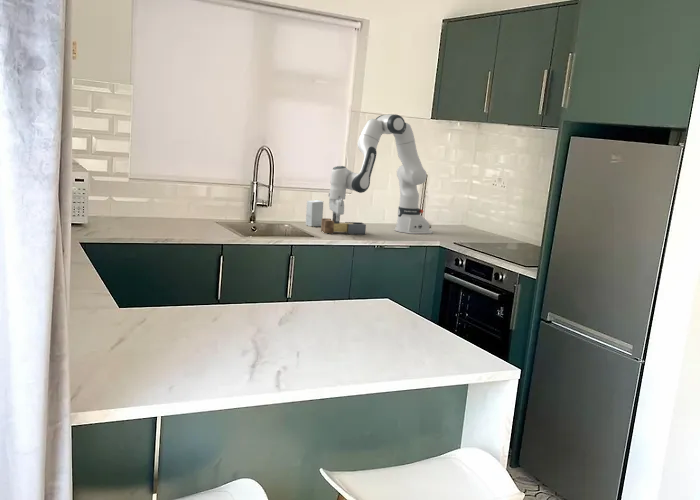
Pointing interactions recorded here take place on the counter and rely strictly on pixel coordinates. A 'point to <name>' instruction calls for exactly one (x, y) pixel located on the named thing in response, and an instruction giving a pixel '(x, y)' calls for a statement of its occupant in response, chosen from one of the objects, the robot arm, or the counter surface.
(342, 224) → the tan block
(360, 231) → the sleeve
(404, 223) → the robot arm
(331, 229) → the brown wooden box
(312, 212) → the skincare box
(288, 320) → the counter surface
